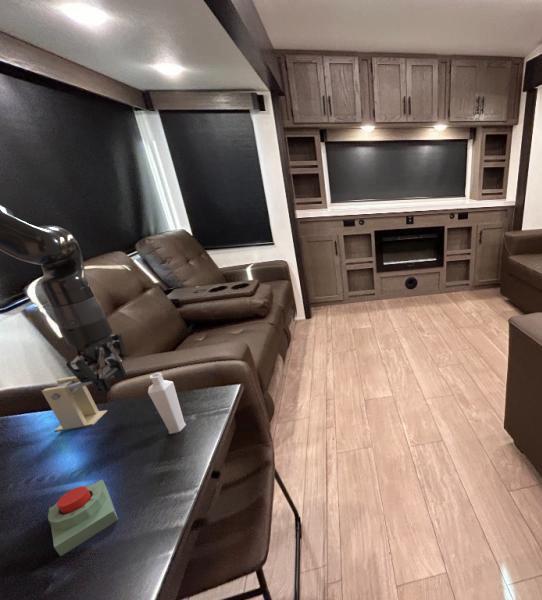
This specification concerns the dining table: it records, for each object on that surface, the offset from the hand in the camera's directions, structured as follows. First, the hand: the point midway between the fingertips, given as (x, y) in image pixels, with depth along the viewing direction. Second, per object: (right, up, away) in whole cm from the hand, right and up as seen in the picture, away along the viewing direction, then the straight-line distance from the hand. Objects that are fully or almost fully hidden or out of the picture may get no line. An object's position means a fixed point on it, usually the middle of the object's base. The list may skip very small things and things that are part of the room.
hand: (113, 384), depth 75 cm
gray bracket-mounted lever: (-5, 0, -1) cm, 5 cm away
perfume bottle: (+17, -10, -3) cm, 20 cm away
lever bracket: (-9, -10, +2) cm, 14 cm away
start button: (+14, -14, -23) cm, 30 cm away
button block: (+15, -17, -21) cm, 31 cm away
